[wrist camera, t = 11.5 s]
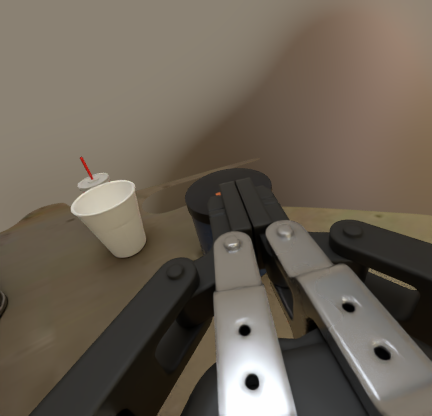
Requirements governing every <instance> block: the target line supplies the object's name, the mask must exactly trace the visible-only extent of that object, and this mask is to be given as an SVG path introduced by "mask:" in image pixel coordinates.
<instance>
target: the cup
mask: <svg viewBox="0 0 432 416" xmlns="http://www.w3.org/2000/svg"><path fill="white" fill-rule="evenodd" d="M71 212H72V213H73V214H74V215H76V216H78V218H79V219H80V220H81V221H82V222H83V223H84V224H85V225H86V226H87V227H88V228H89V229H90V230H91V231H92V232H93V233H94V234H95V236H96V237H97V238H98V239H99V240H100V241H101V242H102V243H103V244H104V245H105V246H106V247H107V248H108V250H109V251H110V252H111V253H112V254H113V255H114V256H116V257H119V258H125V257H130V256H133V255H134V254H136V253H138V252H139V251H140V250H141V249H142V248H143V246H144V245H145V243H146V236H145V232H144V229H143V224H142V220H141V215H140V212H139V208H138V203H137V198H136V194H135V185H134V184H133V183H132V182H131V181H126V180H117V181H111V182H107V183H104V184H101V185H98V186H96V187H94V188H91V189H90V190H88V191H86V192H85V193H83V194H82V195H80V196H79V197H78V198H77V199H76V200H75V201H74V202H73V204H72V206H71Z"/></svg>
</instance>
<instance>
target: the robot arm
mask: <svg viewBox="0 0 432 416" xmlns="http://www.w3.org/2000/svg"><path fill="white" fill-rule="evenodd" d="M219 189H220V194H221V195H217V196H212V197H210V199H209V201H208V203H207V207H208V213H209V219H210V225H211V230H212V236H213V245H212V247H211V249H210V250H209V252H208V253H207V254H205V255H204V256H203V257H201V258H199V259H197V260H195V261H192V260H190V259H188V258H175V259H172V260H170V261H168V262H166V263H165V264H164V265H163V266H162V267H161V268H160V269H159V270H158V271H157V272H156V273H155V274H154V275H153V277H152V278H151V279H150V280H149V281H148V282H147V283H146V284H145V286H144V287H143V288H142V289H141V290H140V291H139V292H138V293H137V295H136V296H135V297H134V298H133V299H132V300H131V301H130V302H129V303H128V305H127V306H126V307H125V308H124V309H123V310H122V311H121V312H120V314H119V315H118V316H117V317H116V318H115V319H114V320H113V321H112V323H111V324H110V325H109V326H108V327H107V328H106V329H105V330H104V332H103V333H102V334H101V335H100V336H99V337H98V338H97V339H96V341H95V342H94V343H93V344H92V345H91V346H90V347H89V348H88V350H87V351H86V352H85V353H84V354H83V355H82V356H81V357H80V359H79V360H78V361H77V362H76V363H75V364H74V365H73V366H72V368H71V369H70V370H69V371H68V372H67V373H66V374H65V375H64V376H63V378H62V379H61V380H60V381H59V382H58V383H57V384H56V385H55V387H54V388H53V389H52V390H51V391H50V392H49V393H48V394H47V396H46V397H45V398H44V399H43V400H42V401H41V402H40V403H39V405H38V406H37V407H36V408H35V409H34V410H33V411H32V412H31V414H30V415H29V416H156V415H157V414H158V412H159V410H160V409H161V407H162V405H163V404H164V402H165V400H166V399H167V397H168V395H169V393H170V392H171V390H172V388H173V387H174V385H175V383H176V382H177V380H178V378H179V377H180V375H181V373H182V371H183V370H184V368H185V366H186V365H187V363H188V361H189V360H190V358H191V356H192V355H193V353H194V351H195V349H196V348H197V346H198V344H199V343H200V341H201V339H202V338H203V336H204V334H205V333H206V331H207V329H208V327H209V326H210V324H211V321H212V317H213V316H214V321H215V342H216V363H214V364H213V365H212V366H211V367H210V368H209V369H208V370H207V371H206V372H205V373H204V375H203V376H202V377H201V378H200V380H199V381H198V383H197V384H196V386H195V388H194V390H193V391H192V393H191V395H190V397H189V399H188V401H187V403H186V405H185V407H184V409H183V411H182V413H181V415H180V416H432V244H431V243H427V242H424V241H421V240H418V239H415V238H411V237H408V236H405V235H402V234H399V233H396V232H392V231H389V230H386V229H383V228H380V227H376V226H373V225H370V224H367V223H364V222H360V221H356V220H341V221H338V222H336V223H334V224H333V225H332V226H331V228H330V232H307V231H306V230H305V229H304V227H303V226H302V225H300V224H299V223H297V222H294V221H290V220H289V218H288V217H287V215H286V214H285V212H284V210H283V209H282V207H281V205H280V204H279V203H278V201H277V199H276V198H275V196H274V194H273V193H272V191H271V190H270V189H269V188H267V187H265V186H264V185H261V186H257V187H255V186H254V184H253V182H252V180H251V179H250V178H245V179H241V180H236V181H235V183H234V181H232V182H227V183H223V184H219ZM258 268H259V269H258ZM369 268H371V269H374V270H376V271H378V272H381V273H383V274H386V275H388V276H390V277H393V278H395V279H398V280H400V281H402V282H405V283H407V284H409V285H411V286H413V287H414V288H416V289H417V290H411V289H408V288H405V287H403V286H400V285H398V284H396V283H393V282H391V281H389V280H386V279H384V278H382V277H379V276H377V275H375V274H372V273H370V272H368V269H369ZM261 269H266V272H267V274H268V277H269V279H270V284H271V287H272V289H273V291H274V293H275V295H276V297H277V299H278V301H279V303H280V306H281V308H282V310H283V312H284V314H285V316H286V318H287V320H288V322H289V324H290V327H291V330H292V333H293V337H294V339H288V338H277V334H276V330H275V326H274V322H273V318H272V314H271V310H270V306H269V302H268V298H267V294H266V290H265V287H264V284H262V281H261V277H260V273H259V270H261ZM6 305H7V297H6V295H5V294H4V293H2V292H1V291H0V316H1V314H2V313H3V311H4V310H5V308H6Z"/></svg>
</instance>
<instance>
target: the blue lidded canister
mask: <svg viewBox="0 0 432 416" xmlns="http://www.w3.org/2000/svg"><path fill="white" fill-rule="evenodd" d="M245 178H250V179H251V180H252V182H253V184H254V186H255V187H257V186H261V185H264V186H265V187H267V188H269V189H270V190H271V191H272V185H271V181H270V179H269V178H268V177H267V176H266V175H265V174H263V173H261V172H259V171H255V170H252V169H245V168H234V169H226V170H221V171H217V172H214V173H211V174H208V175H206V176H204V177H202V178H200V179H199V180H197V181H196V182H194V183H193V184H192V185H191V186H190V187H189V189H188V190H187V192H186V195H185V201H186V205H187V208H188V211H189V213H190V215H191V216H192V219H193V222H194V225H195V229H196V232H197V235H198V238H199V242H200V245H201V248H202V251H203V255H205V254H207V253H208V252H209V250H210V249H211V247H212V245H213V236H212V230H211V225H210V219H209V213H208V207H207V203H208V201H209V199H210V197H212V196H216V193H219V192H220V189H219V184H223V183H227V182H232V181H234V183H235V181H236V180H241V179H245ZM258 269H259V268H258ZM259 273H260V277H261V276H263V275H264V274H265V273H266V269H261V270H259Z"/></svg>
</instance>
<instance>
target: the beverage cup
mask: <svg viewBox="0 0 432 416" xmlns="http://www.w3.org/2000/svg"><path fill="white" fill-rule="evenodd" d="M80 159H81V161H82V163H83V165H84V167H85V169H86V170H87V172H88V174H89V177H87V178H85V179H83V180H82V181H80V183H79V184H78V188H79V189H80V191H82V192H83V193H85V192H86V191H88V190H90V189H91V188H94V187H96V186H98V185H101V184H104V183H107V182H110V181H109V180H110V178H109V176H108V174H107V173H98V174H94V175H92V174H91V173H90V171H89V169H88V167H87V165H86V163H85V162H84V160H83V158H82V157H80Z"/></svg>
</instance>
